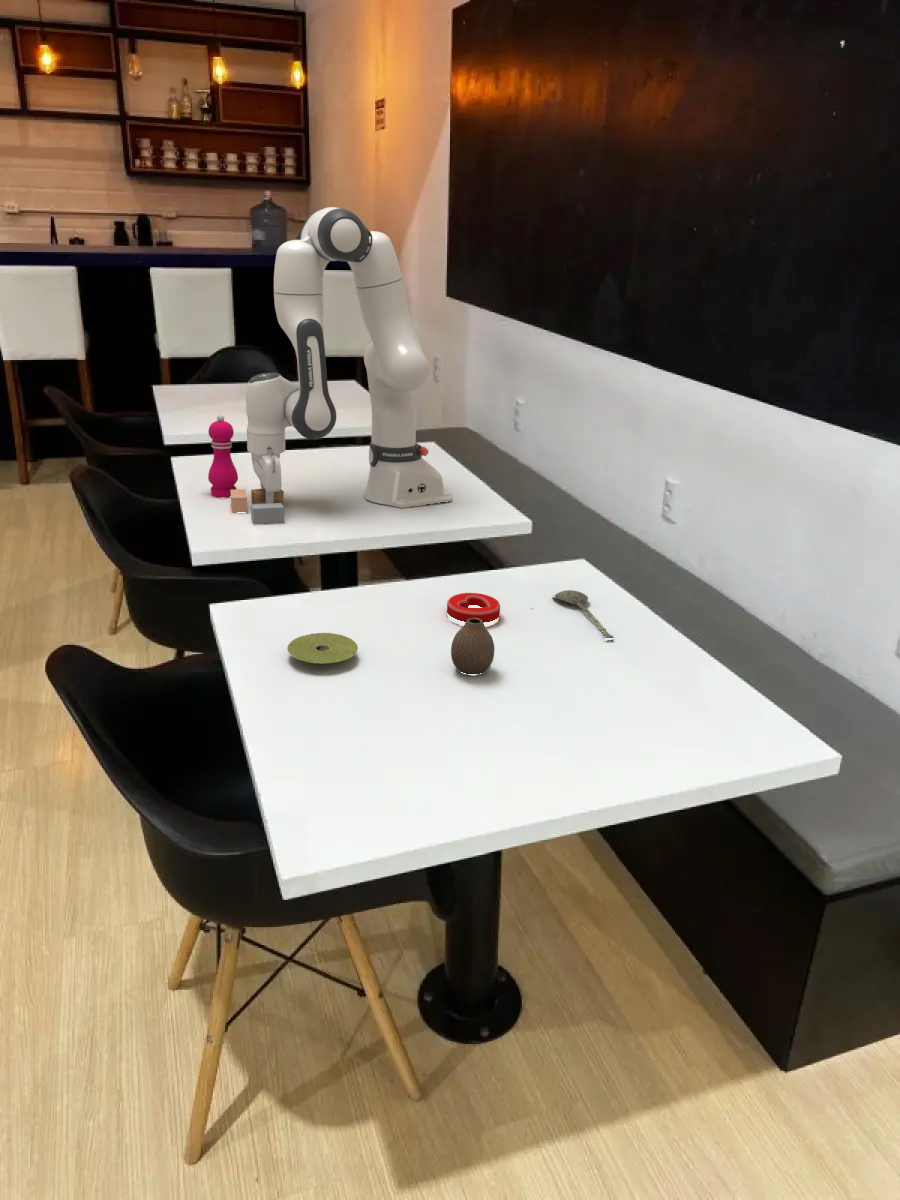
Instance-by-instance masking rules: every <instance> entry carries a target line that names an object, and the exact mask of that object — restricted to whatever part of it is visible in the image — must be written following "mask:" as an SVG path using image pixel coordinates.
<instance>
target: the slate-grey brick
mask: <svg viewBox="0 0 900 1200" xmlns="http://www.w3.org/2000/svg"><path fill="white" fill-rule="evenodd" d="M250 520H252V521H251V523H252V522H253V523H252V525H253V524H264V525H276V524H277V525H278V524H281V523H282V524H285V506H284V507H283V505H282V503H270V504H252V503H250Z"/></svg>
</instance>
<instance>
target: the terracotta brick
mask: <svg viewBox="0 0 900 1200" xmlns="http://www.w3.org/2000/svg"><path fill="white" fill-rule="evenodd" d="M230 494H231V497H230V508H231V507H232V508H231V513H237V512H248V496H247V492H246V489H244V488H242V489H241V488H240V489H236V490H230Z"/></svg>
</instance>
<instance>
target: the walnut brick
mask: <svg viewBox="0 0 900 1200" xmlns="http://www.w3.org/2000/svg"><path fill="white" fill-rule="evenodd" d="M284 493H285V492H284V490H283V489H282V488H281V491H279V492H274V502H273V503H282V505H283V507H284V508H285V498H284ZM250 494H251V495H250V496H251V504H267V503H266V501H265V489H261V488H255V489H251V490H250Z"/></svg>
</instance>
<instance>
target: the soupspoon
mask: <svg viewBox="0 0 900 1200" xmlns="http://www.w3.org/2000/svg"><path fill="white" fill-rule="evenodd" d="M555 594H556V595H555ZM555 594H554V595H555V597H556V598H557V600H559V601H564V602H567V603H568V604H572V605H575V606H576V607H579V608H580V609H582V611H584V613H586V614H587V615H588V616H589V618H590V619H591V620H593V621H594V623H595V624H596V625H597V627H598V628H599V629H600V632H601V631H603V632H602V635H603V634H604V635H605V636H606V637H605V638H614V639H615V637H614V635H612V634H610V633H609V632H608V631H607V629H606V628H605V627H604V626H603V625H602V623H601V622H600V621H599V620H598V619H597V618H596V616H594V614H593V613H592V612H591V611H590V610H589V609H588V608H586V606H585V605H584V604H586V602H588V599H589V597H588V596H587V594H584V593H583V592H581V591H578V590H574V589H573V590H571V589H567V590H562V591H559V592H557V593H555ZM556 598H555V599H556ZM582 604H583V605H582ZM604 635H603V636H604Z"/></svg>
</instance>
